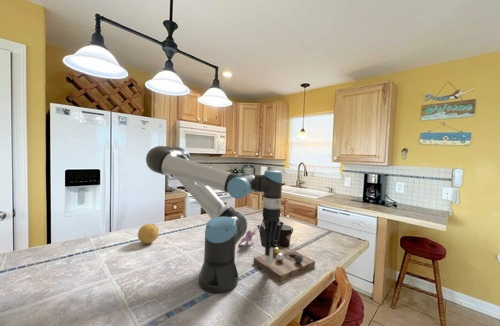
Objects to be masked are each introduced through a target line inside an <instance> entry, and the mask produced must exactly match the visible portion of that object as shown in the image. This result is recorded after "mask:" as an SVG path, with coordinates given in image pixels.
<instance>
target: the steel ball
mask: <svg viewBox="0 0 500 326" xmlns="http://www.w3.org/2000/svg"><path fill="white" fill-rule="evenodd" d="M276 259H277V260H278V261H279V262H281V261H283V259H284V256H283V254H281V253H279V254H277V256H276Z"/></svg>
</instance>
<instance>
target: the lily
mask: <svg viewBox="0 0 500 326" xmlns="http://www.w3.org/2000/svg"><path fill="white" fill-rule="evenodd" d="M256 231H257V229H255V230H254V231H251V230H250V229H249V230H247V231H246V233H245V236H243V237H242V238H241V239H240V242H239V243H238V246H240V245H241V244H242V243H244V242H246V243H249V242H250V243H251V244H252V246H253V248H255V245H254V243H253V241H252V239H253V236H255V235H256V234H257V232H256Z"/></svg>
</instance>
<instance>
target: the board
mask: <svg viewBox="0 0 500 326" xmlns="http://www.w3.org/2000/svg"><path fill="white" fill-rule="evenodd" d="M279 250H280V253H281V254H283V256H284V259H283V261H281V262H279V261H278V260H277V259H276V256H277V255H275V254H273V263H271V264H269V263H268V262H266V255H265V253H264V254H261V255H257V256H256V257H255V256H254V257H253V264H255V266H257V267H259V268H260V269H261V270H263V271H264V272H265V273H266V274H268V275H270V276H271V277H272V278H274V279H275V280H276V281H278V282H279V283H281V282H284V281H286V280H289V279H290V278H292V277H293V278H294V277H295V276H297V275H299V274H302V273H304V272H306V271H308V270H310V269H313V268H315V267H316V260H313V259H311V258H310V257H308V256H305V254H304V255H303V254H302V253H299V252H298V251H296V250H294V249H293V248H290V247H282V248H279ZM296 255H300V256H301V257H302V262H301V263H296V262H295V256H296Z"/></svg>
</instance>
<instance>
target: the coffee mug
mask: <svg viewBox="0 0 500 326" xmlns="http://www.w3.org/2000/svg"><path fill="white" fill-rule="evenodd" d="M293 232H294V228H293V226H292V225H287V224H283V226H282V228H281V232H280V237H279V242H278V245H277V246H278V247H280V248H286V247H288V248H290V247H289V246H290V245H291V243H290V242H291V239H292V237H291V236H292V234H293Z"/></svg>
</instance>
